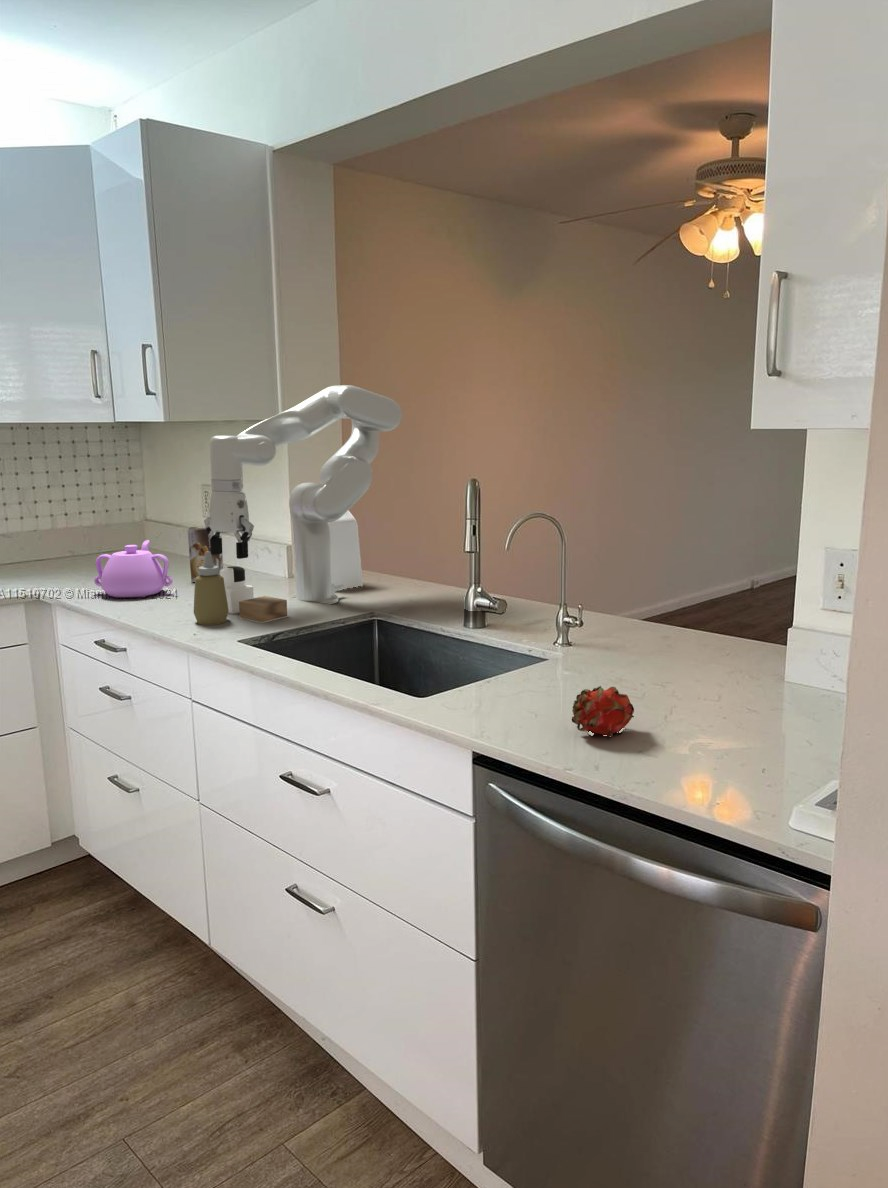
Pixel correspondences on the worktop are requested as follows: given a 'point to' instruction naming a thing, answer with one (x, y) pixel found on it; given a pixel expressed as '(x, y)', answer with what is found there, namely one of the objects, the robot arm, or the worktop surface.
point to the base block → (263, 608)
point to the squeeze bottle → (210, 594)
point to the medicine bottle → (235, 587)
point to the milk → (345, 552)
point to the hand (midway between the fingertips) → (229, 556)
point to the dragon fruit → (602, 711)
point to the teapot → (133, 572)
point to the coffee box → (200, 550)
